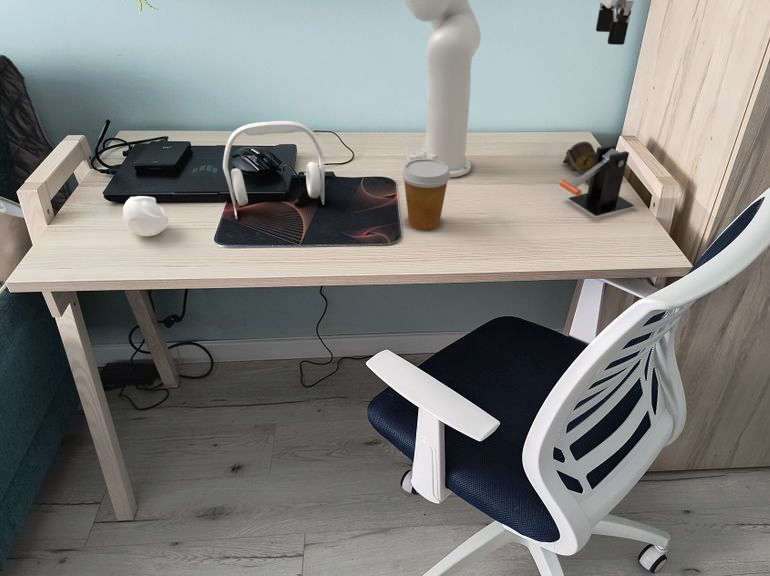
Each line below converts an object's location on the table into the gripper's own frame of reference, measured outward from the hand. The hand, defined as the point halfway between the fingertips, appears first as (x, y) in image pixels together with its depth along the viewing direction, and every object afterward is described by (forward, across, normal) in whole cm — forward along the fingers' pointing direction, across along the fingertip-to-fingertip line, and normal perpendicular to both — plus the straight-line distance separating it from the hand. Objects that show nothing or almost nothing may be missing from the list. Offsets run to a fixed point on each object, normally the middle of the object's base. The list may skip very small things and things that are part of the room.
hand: (609, 37), depth 128 cm
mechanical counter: (+32, -5, +2) cm, 33 cm away
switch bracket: (+32, +10, +2) cm, 34 cm away
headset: (+32, +14, -67) cm, 75 cm away
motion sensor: (+31, +26, -90) cm, 99 cm away
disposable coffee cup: (+32, +19, -37) cm, 52 cm away
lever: (+24, +12, -1) cm, 27 cm away
